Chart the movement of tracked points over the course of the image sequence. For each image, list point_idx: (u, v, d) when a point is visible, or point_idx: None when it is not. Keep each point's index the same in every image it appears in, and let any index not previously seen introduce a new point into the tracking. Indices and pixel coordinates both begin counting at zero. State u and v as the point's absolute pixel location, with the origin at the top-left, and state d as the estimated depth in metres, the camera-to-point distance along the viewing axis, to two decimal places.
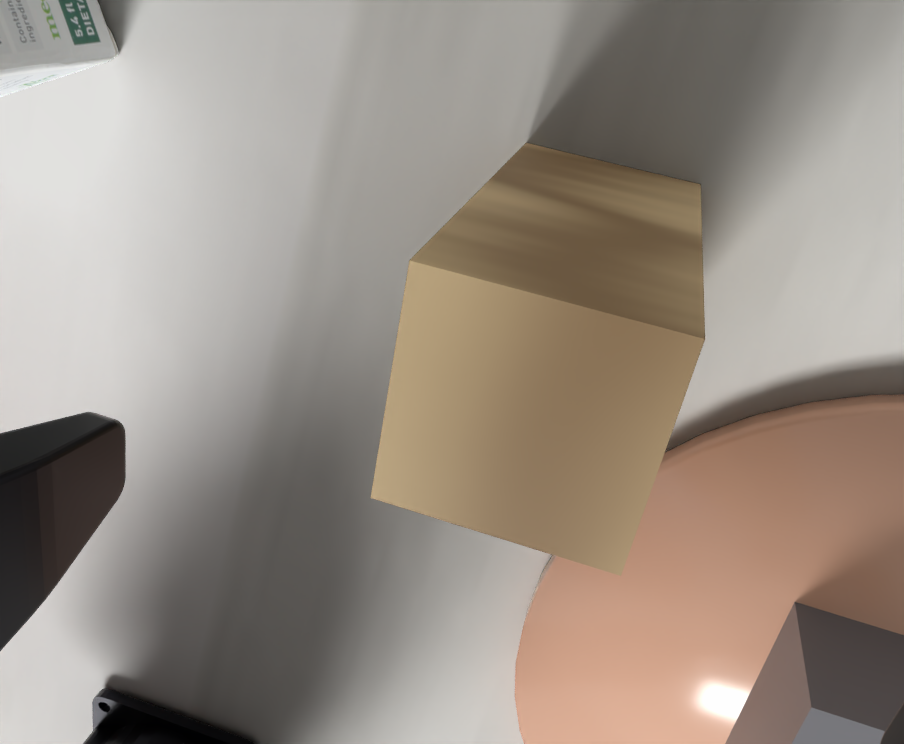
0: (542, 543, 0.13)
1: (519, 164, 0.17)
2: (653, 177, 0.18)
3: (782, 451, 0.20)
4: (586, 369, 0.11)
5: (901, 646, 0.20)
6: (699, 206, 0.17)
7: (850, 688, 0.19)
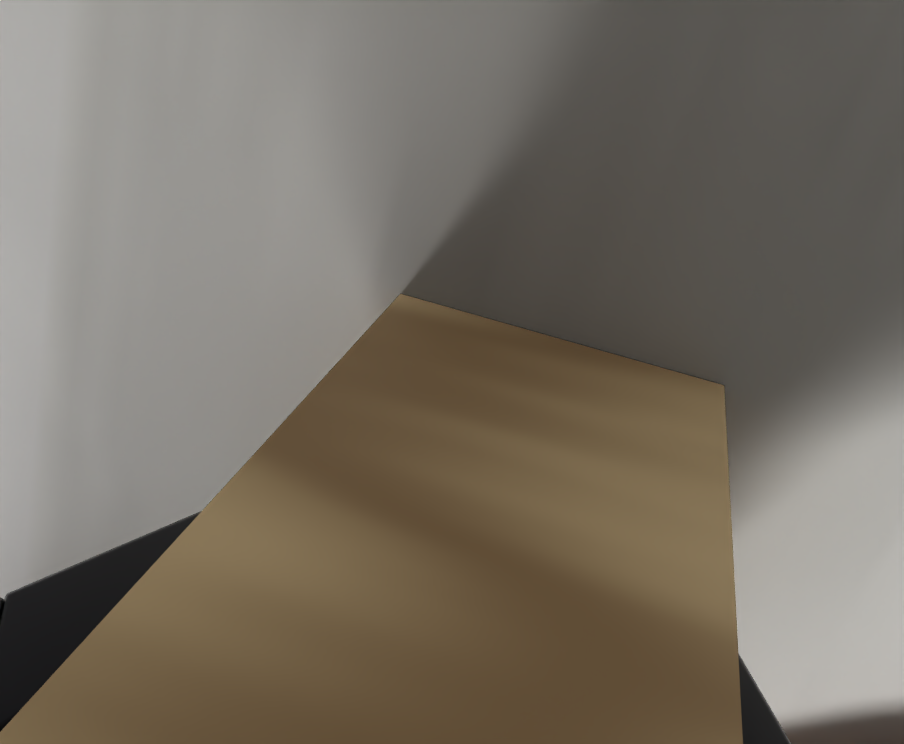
0: None
1: (356, 375, 0.08)
2: (633, 376, 0.10)
3: None
4: None
5: None
6: (725, 478, 0.08)
7: None
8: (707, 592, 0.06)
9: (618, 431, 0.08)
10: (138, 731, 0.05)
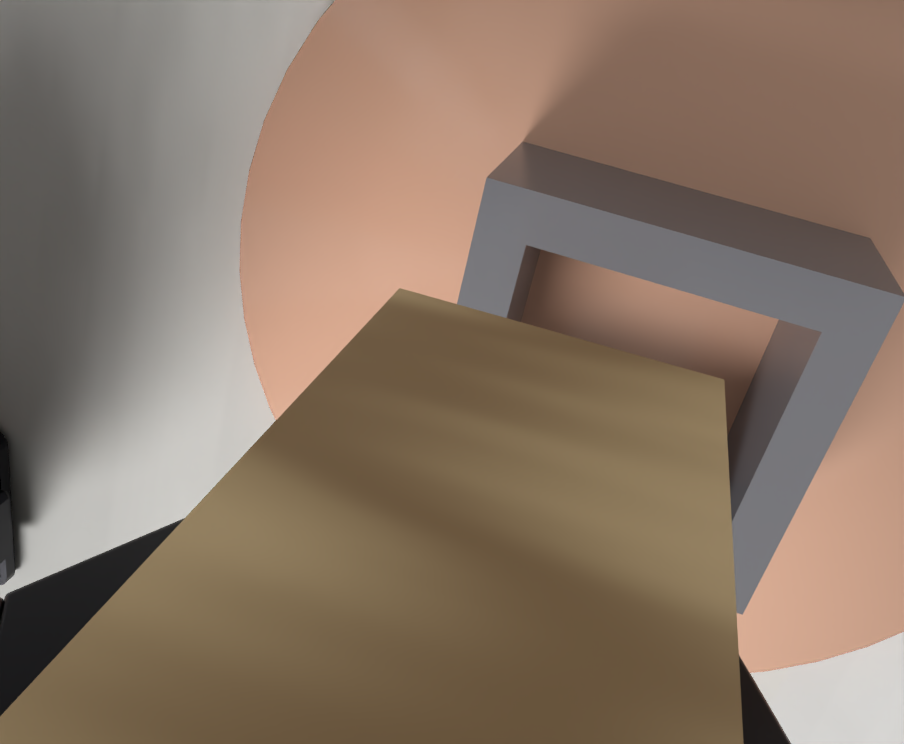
0: None
1: (354, 368, 0.08)
2: (633, 370, 0.10)
3: None
4: None
5: (635, 178, 0.17)
6: (725, 471, 0.08)
7: (548, 181, 0.16)
8: (707, 584, 0.06)
9: (618, 424, 0.08)
10: (135, 721, 0.05)
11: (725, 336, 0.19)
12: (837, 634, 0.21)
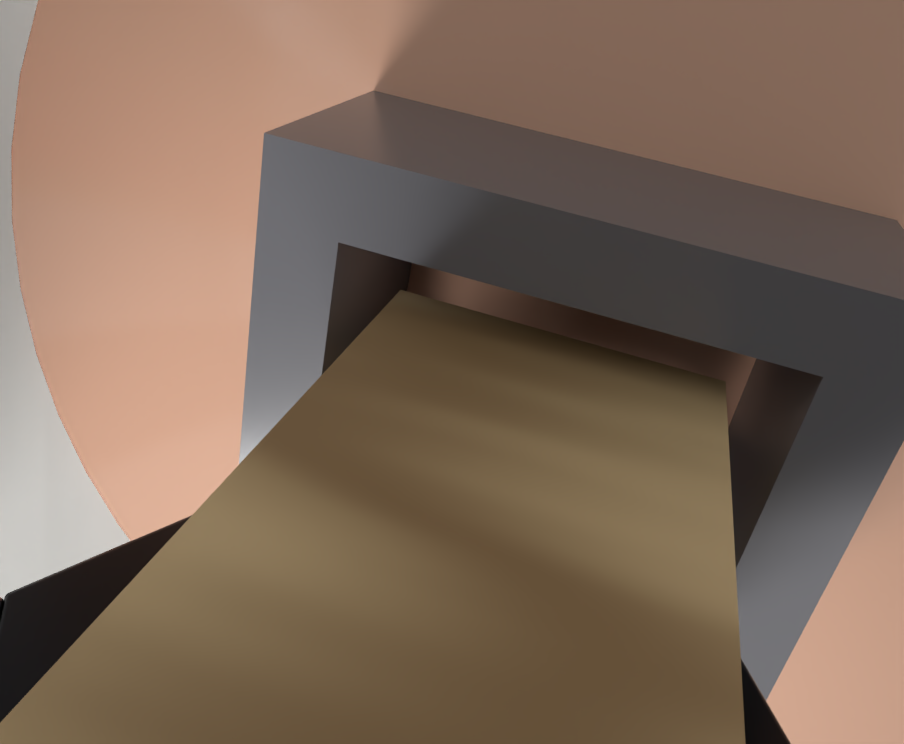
0: None
1: (356, 370, 0.08)
2: (634, 372, 0.10)
3: None
4: None
5: (535, 138, 0.11)
6: (726, 473, 0.08)
7: (379, 140, 0.10)
8: (709, 587, 0.06)
9: (619, 427, 0.08)
10: (136, 725, 0.05)
11: None
12: None
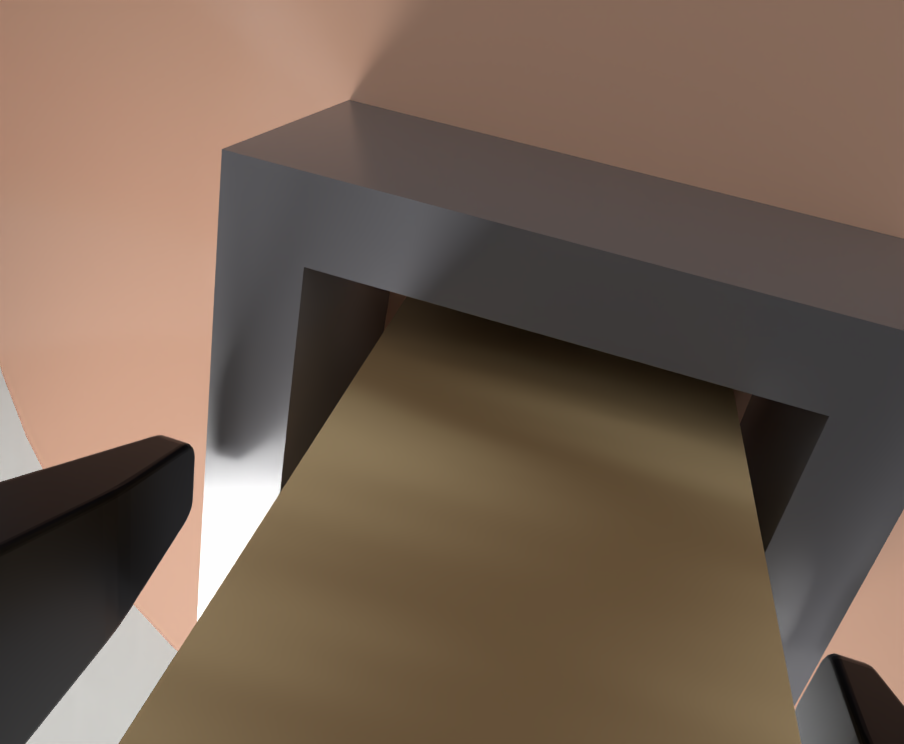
0: None
1: (415, 320, 0.10)
2: None
3: None
4: None
5: (520, 151, 0.11)
6: (730, 393, 0.10)
7: (350, 155, 0.09)
8: (728, 477, 0.08)
9: None
10: (323, 578, 0.06)
11: None
12: None
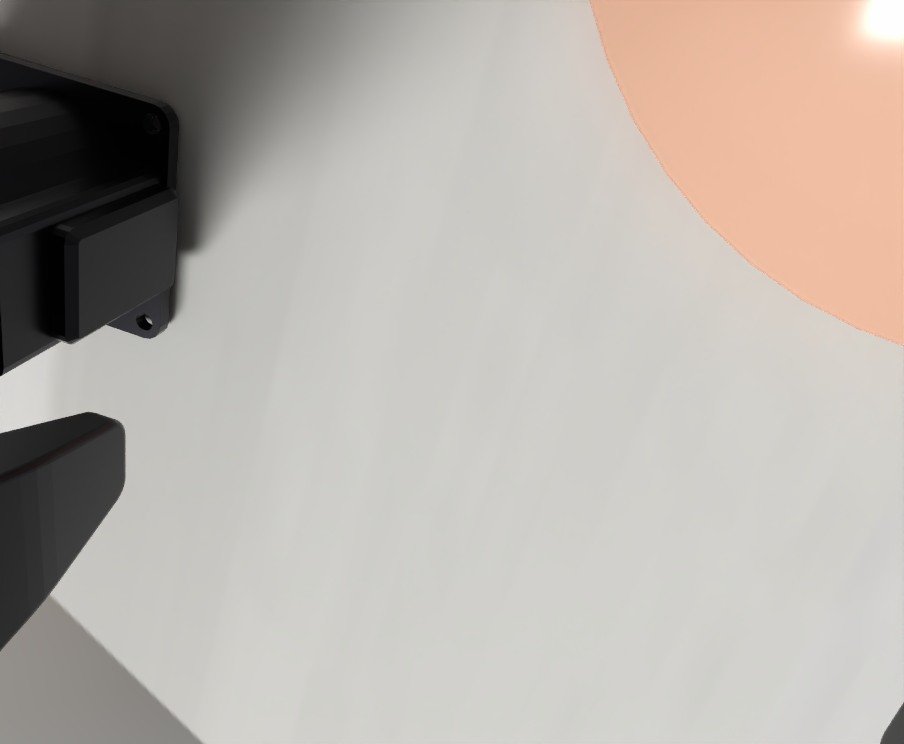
0: None
1: None
2: None
3: None
4: None
5: None
6: None
7: None
8: None
9: None
10: None
11: None
12: None
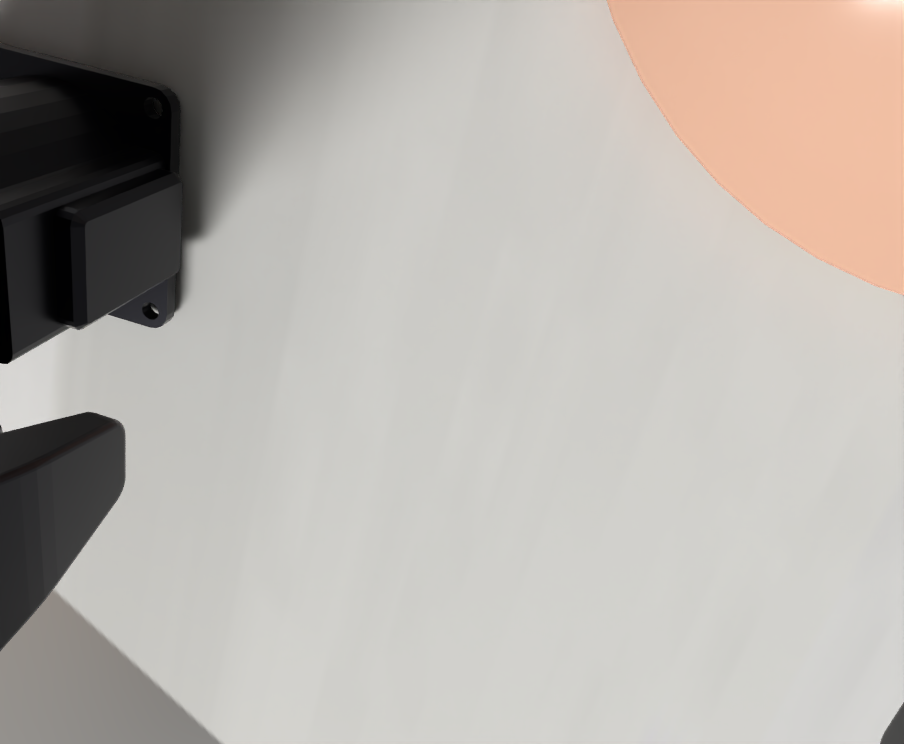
0: None
1: None
2: None
3: None
4: None
5: None
6: None
7: None
8: None
9: None
10: None
11: None
12: None
